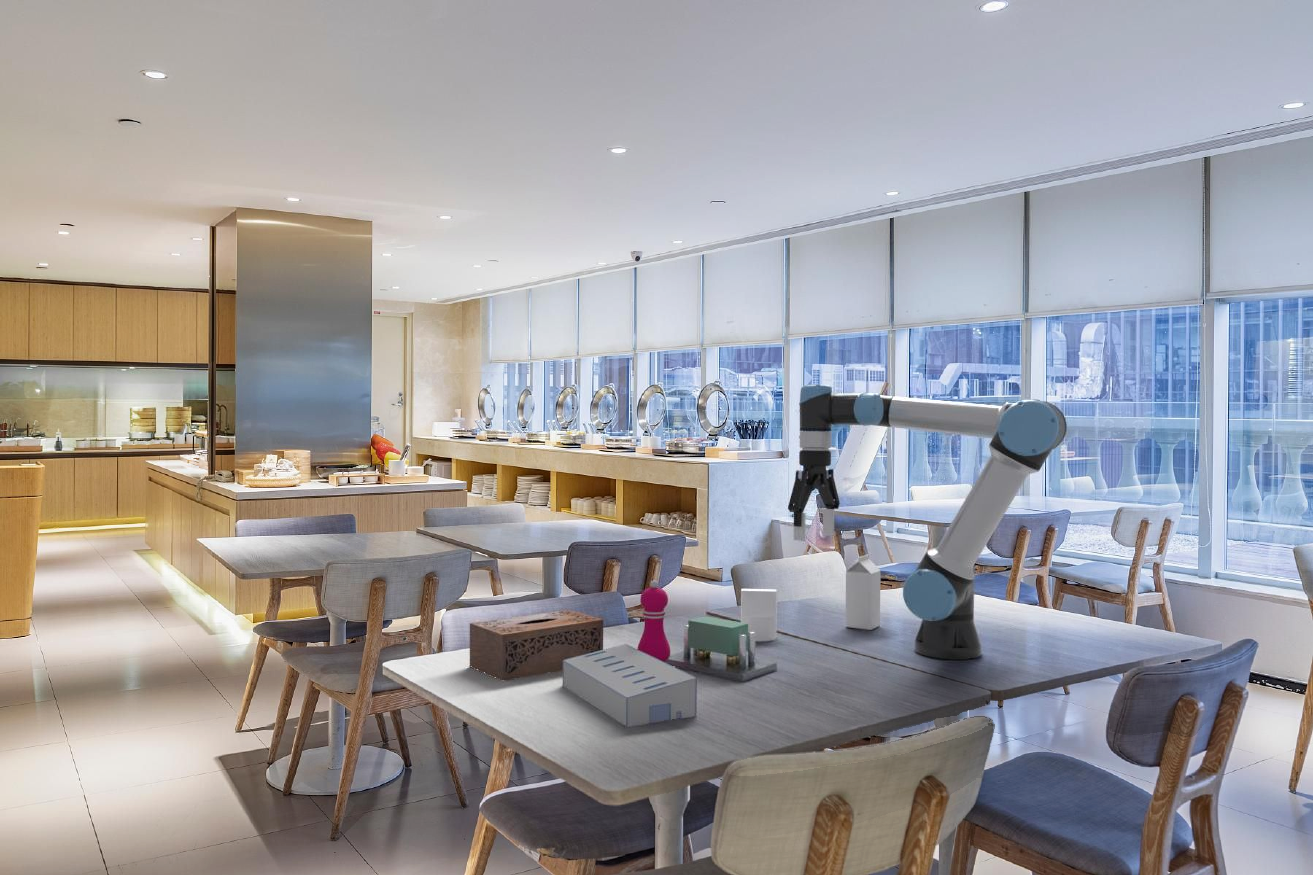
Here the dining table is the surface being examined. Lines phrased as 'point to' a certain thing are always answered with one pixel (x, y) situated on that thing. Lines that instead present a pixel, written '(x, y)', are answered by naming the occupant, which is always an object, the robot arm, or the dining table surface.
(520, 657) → the tissue box cover
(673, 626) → the dining table surface
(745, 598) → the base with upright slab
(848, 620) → the milk carton
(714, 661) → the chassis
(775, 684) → the dining table surface
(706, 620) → the mint green rectangular block
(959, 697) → the dining table surface
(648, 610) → the pepper mill
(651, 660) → the warehouse
